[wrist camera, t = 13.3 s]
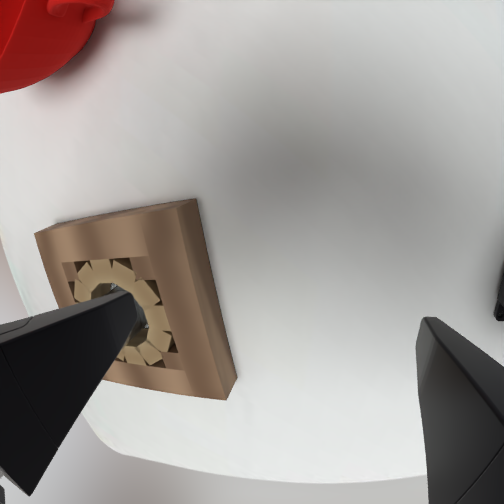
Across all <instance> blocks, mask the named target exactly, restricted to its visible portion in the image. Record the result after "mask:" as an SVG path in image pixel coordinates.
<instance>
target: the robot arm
mask: <svg viewBox="0 0 504 504" xmlns="http://www.w3.org/2000/svg"><path fill="white" fill-rule="evenodd" d="M500 313H501V315H499V314H500ZM498 315H499V316H498ZM494 317H495V318H496V320H497V321H504V274H503V278H502V283H501V287H500V290H499V294H498V302H497V305H496V309H495V312H494ZM137 318H138V314H137V309H136V305H135V300H134V296H133V294H132V293H130V292H125V291H119V292H116V293H112V294H109V295H105V296H102V297H98V298H95V299H91V300H88V301H84V302H81V303H77V304H74V305H70V306H67V307H63V308H60V309H56V310H53V311H49V312H46V313H42V314H39V315H35V316H34V317H33V316H32V317H28V318H25V319H21V320H17V321H14V322H10V323H6V324H2V325H0V478H1V477H2V476H3V475H4V476H5V477H6V478H7V479H9V480H10V481H11V482H12V483H13V484H14V485H16V486H17V487H18V488H19V489H21V490H22V491H23V492H24V493H25V494H27V495H28V496H31V494H32V493H33V491H34V490H35V488H36V486H37V484H38V483H39V481H40V479H41V477H42V476H43V474H44V472H45V471H46V469H47V467H48V465H49V464H50V462H51V460H52V459H53V457H54V455H55V454H56V452H57V450H58V448H59V447H60V445H61V443H62V441H63V440H64V438H65V437H66V435H67V434H68V432H69V430H70V429H71V427H72V425H73V424H74V422H75V420H76V419H77V418H78V416H79V414H80V413H81V411H82V410H83V408H84V406H85V405H86V403H87V402H88V400H89V399H90V397H91V396H92V394H93V392H94V391H95V389H96V388H97V386H98V385H99V383H100V382H101V380H102V379H103V377H104V376H105V374H106V373H107V371H108V370H109V368H110V367H111V365H112V364H113V362H114V361H115V359H116V358H117V356H118V354H119V353H120V351H121V349H122V347H123V345H124V344H125V342H126V340H127V338H128V336H129V334H130V332H131V331H132V329H133V327H134V325H135V323H136V321H137ZM416 361H417V380H418V396H419V403H420V410H421V418H422V425H423V434H424V443H425V453H426V464H427V478H428V498H429V504H504V367H503V366H502V365H501V364H499V363H498V362H497V361H495V360H494V359H493V358H491V357H490V356H489V355H488V354H486V353H485V352H484V351H482V350H481V349H479V348H478V347H477V346H475V345H474V344H473V343H471V342H470V341H469V340H467V339H466V338H465V337H463V336H462V335H460V334H459V333H458V332H456V331H455V330H454V329H452V328H451V327H449V326H448V325H447V324H445V323H444V322H442V321H441V320H440V319H438V318H437V317H424V318H423V319H422V321H421V324H420V329H419V333H418V337H417V341H416ZM4 493H5V492H4V488H3V487H2V486H1V485H0V504H5V494H4Z"/></svg>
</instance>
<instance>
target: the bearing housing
mask: <svg viewBox="0 0 504 504" xmlns="http://www.w3.org/2000/svg"><path fill="white" fill-rule="evenodd" d="M34 235H35V239H36V242H37V246H38V249H39V252H40V255H41V259H42V262H43V265H44V268H45V271H46V274H47V277H48V280H49V283H50V285H51V288H52V291H53V294H54V296H55V299H56V302H57V304H58V307H59V309H60V308H63V307H67V306H70V305H74V304H77V303H81V302H84V301H88V300H91V299H95V298H98V297H102V296H104V295H105V294H107V293H108V292H109V291H110V287H111V283H114V284H116V285H118V286H119V287H121V288H123V289H125V290H126V291H128V292H130V293H132V294H133V296H134V298H135V300H136V301H137V302H138V303H139V305H140V306H141V307H142V308H143V310H144V313H145V316H146V319H147V322H148V325H149V329H148V328H143V329H142V330H141V331H140V332H139V333H138V334H137V335H136V336H135V337H134V338H133V339H132V340H131V341H130V342H129V343H128V344H127V345H126V346H125V347H124V348H123V349H122V350H121V351H120V353H119V354H118V356H117V358H116V359H115V361H114V362H113V364H112V365H111V367H110V368H109V370H108V371H107V373H106V374H105V376H104V377H103V379H102V380H107V381H111V382H115V383H120V384H125V385H129V386H134V387H139V388H145V389H150V390H155V391H161V392H167V393H173V394H180V395H187V396H194V397H201V398H209V399H218V400H227V398H228V396H229V394H230V392H231V390H232V388H233V386H234V383H235V381H236V379H237V375H236V371H235V367H234V363H233V360H232V356H231V352H230V348H229V344H228V340H227V335H226V331H225V327H224V323H223V319H222V315H221V311H220V306H219V302H218V298H217V293H216V289H215V285H214V280H213V276H212V271H211V267H210V262H209V258H208V253H207V249H206V244H205V239H204V235H203V230H202V225H201V220H200V215H199V211H198V206H197V201H196V198H195V199H189V200H182V201H176V202H170V203H164V204H158V205H152V206H146V207H140V208H134V209H129V210H123V211H118V212H113V213H107V214H102V215H97V216H92V217H87V218H82V219H77V220H72V221H68V222H63V223H58V224H55V225H52V226H50V227H48V228H45V229H43V230H41V231H38V232H36V233H34Z"/></svg>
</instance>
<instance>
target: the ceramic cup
mask: <svg viewBox="0 0 504 504" xmlns="http://www.w3.org/2000/svg"><path fill="white" fill-rule="evenodd" d="M113 5H114V0H0V93H5V92H9V91H14V90H18V89H21V88H25V87H27V86H30V85H32V84H35V83H37V82H39V81H41V80H43V79H45V78H47V77H49V76H50V75H52V74H53V73H55V72H56V71H57V70H59V69H60V68H61V67H63V66H64V65H65V64H66V63H67V62H68V61H69V60H70V59H71V58H72V57H74V56H75V55H76V54H77V53H78V52H80V51H81V49H82V48H83V47H84V46H85V44H86V43H87V41H88V40H89V38H90V36H91V34H92V32H93V29H94V26H95V23H96V20H97V19H100V18H102V17H104V16H106V15H107V14H109V13H110V11H111V10H112V7H113Z"/></svg>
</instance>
